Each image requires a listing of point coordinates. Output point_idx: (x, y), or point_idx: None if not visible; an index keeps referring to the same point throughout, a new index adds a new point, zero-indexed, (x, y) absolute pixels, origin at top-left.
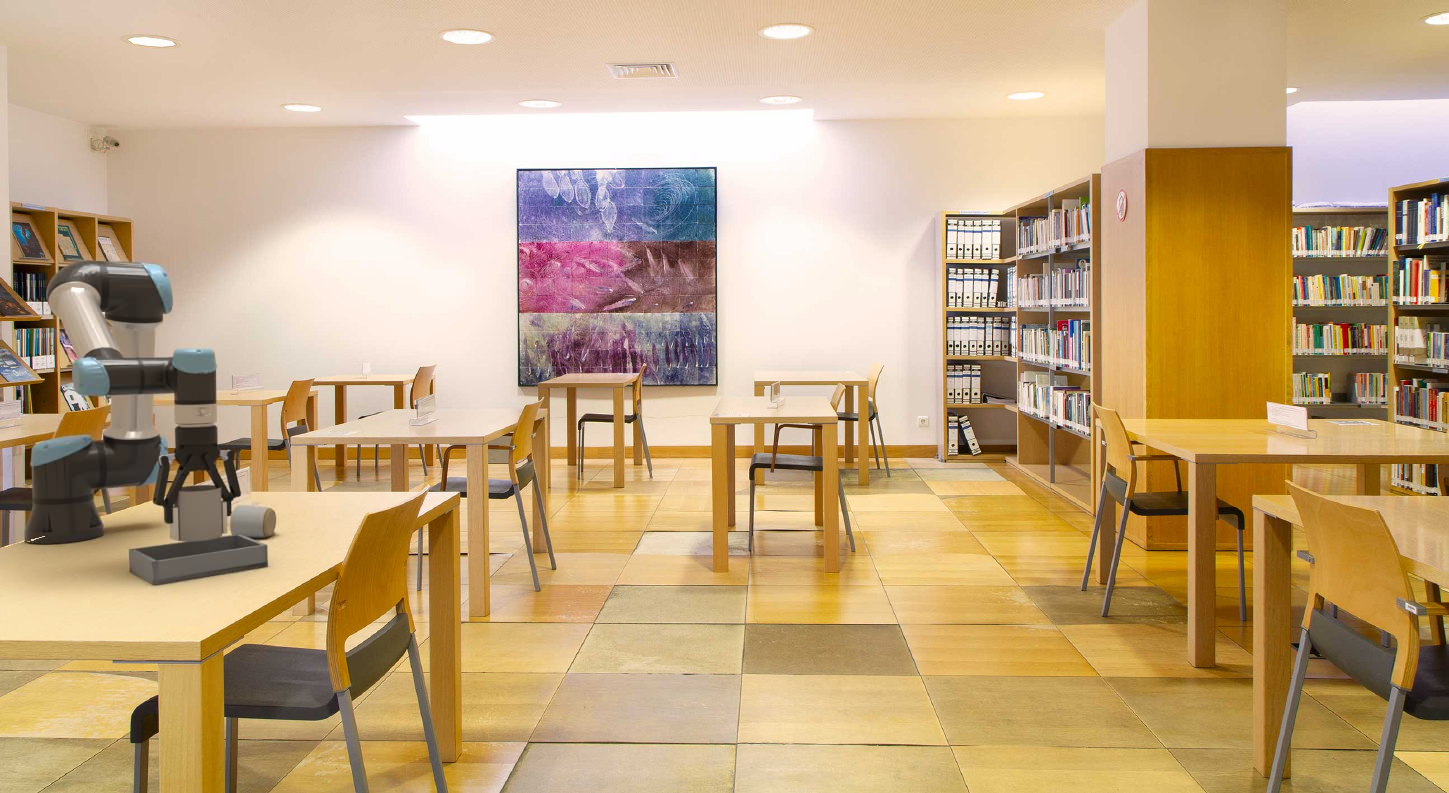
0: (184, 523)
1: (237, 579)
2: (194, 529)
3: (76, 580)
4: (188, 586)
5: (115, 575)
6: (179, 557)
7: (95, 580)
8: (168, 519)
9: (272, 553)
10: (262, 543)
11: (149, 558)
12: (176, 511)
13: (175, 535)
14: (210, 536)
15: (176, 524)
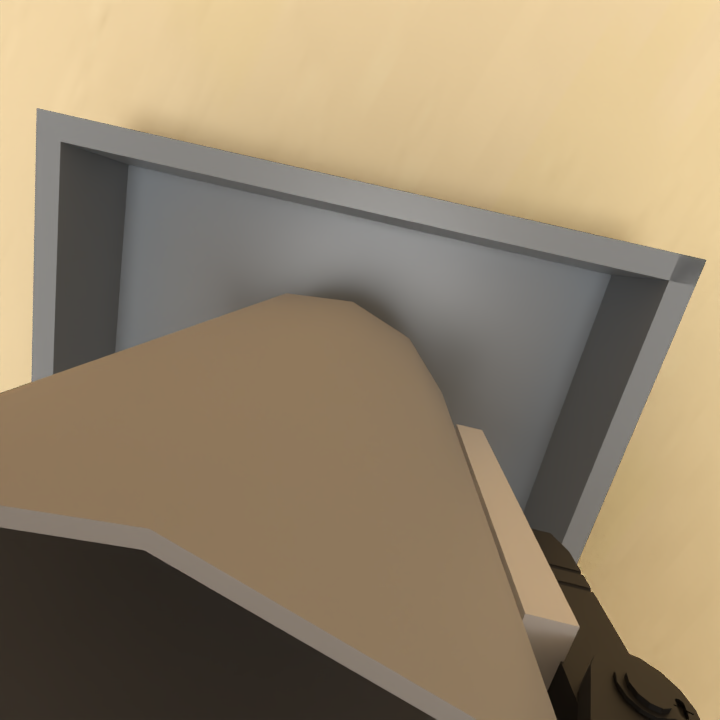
0: (453, 436)
1: (352, 12)
2: (399, 350)
3: (701, 595)
4: (564, 93)
5: None
6: (544, 247)
7: (670, 539)
8: (557, 559)
9: (3, 366)
10: (40, 180)
11: (644, 372)
12: (527, 575)
13: (482, 443)
14: (299, 297)
15: (493, 484)
